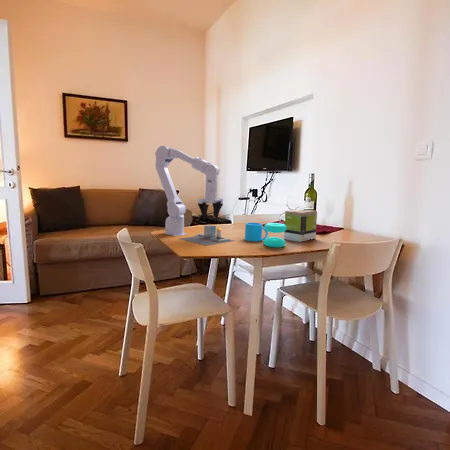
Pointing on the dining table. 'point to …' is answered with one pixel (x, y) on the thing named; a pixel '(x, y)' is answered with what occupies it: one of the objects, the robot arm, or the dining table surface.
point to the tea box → (300, 225)
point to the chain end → (211, 233)
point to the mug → (254, 232)
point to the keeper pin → (218, 234)
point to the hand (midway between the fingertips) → (210, 217)
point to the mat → (202, 240)
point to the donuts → (274, 240)
